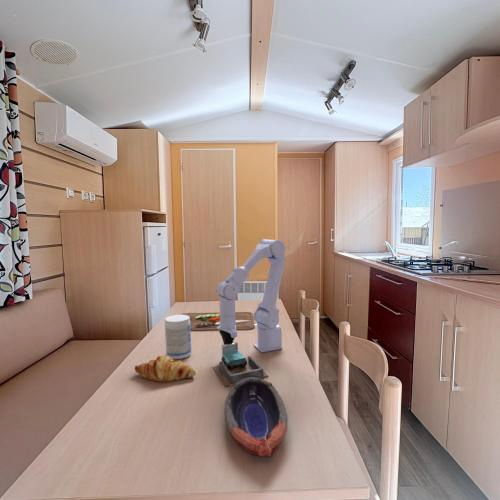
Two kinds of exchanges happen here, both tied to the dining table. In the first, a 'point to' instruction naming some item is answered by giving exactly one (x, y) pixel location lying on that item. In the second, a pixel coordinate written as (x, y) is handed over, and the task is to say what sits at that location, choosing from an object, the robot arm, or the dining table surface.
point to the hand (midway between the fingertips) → (228, 349)
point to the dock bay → (239, 372)
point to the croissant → (165, 369)
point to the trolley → (232, 356)
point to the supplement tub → (178, 336)
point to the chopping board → (212, 320)
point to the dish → (256, 416)
